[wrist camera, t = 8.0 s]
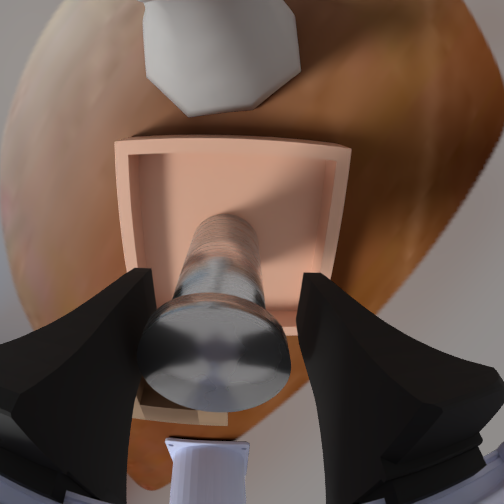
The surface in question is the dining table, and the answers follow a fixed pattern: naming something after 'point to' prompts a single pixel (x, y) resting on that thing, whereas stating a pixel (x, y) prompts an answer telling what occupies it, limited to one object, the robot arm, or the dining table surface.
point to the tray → (233, 205)
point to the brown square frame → (171, 409)
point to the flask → (219, 52)
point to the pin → (217, 326)
